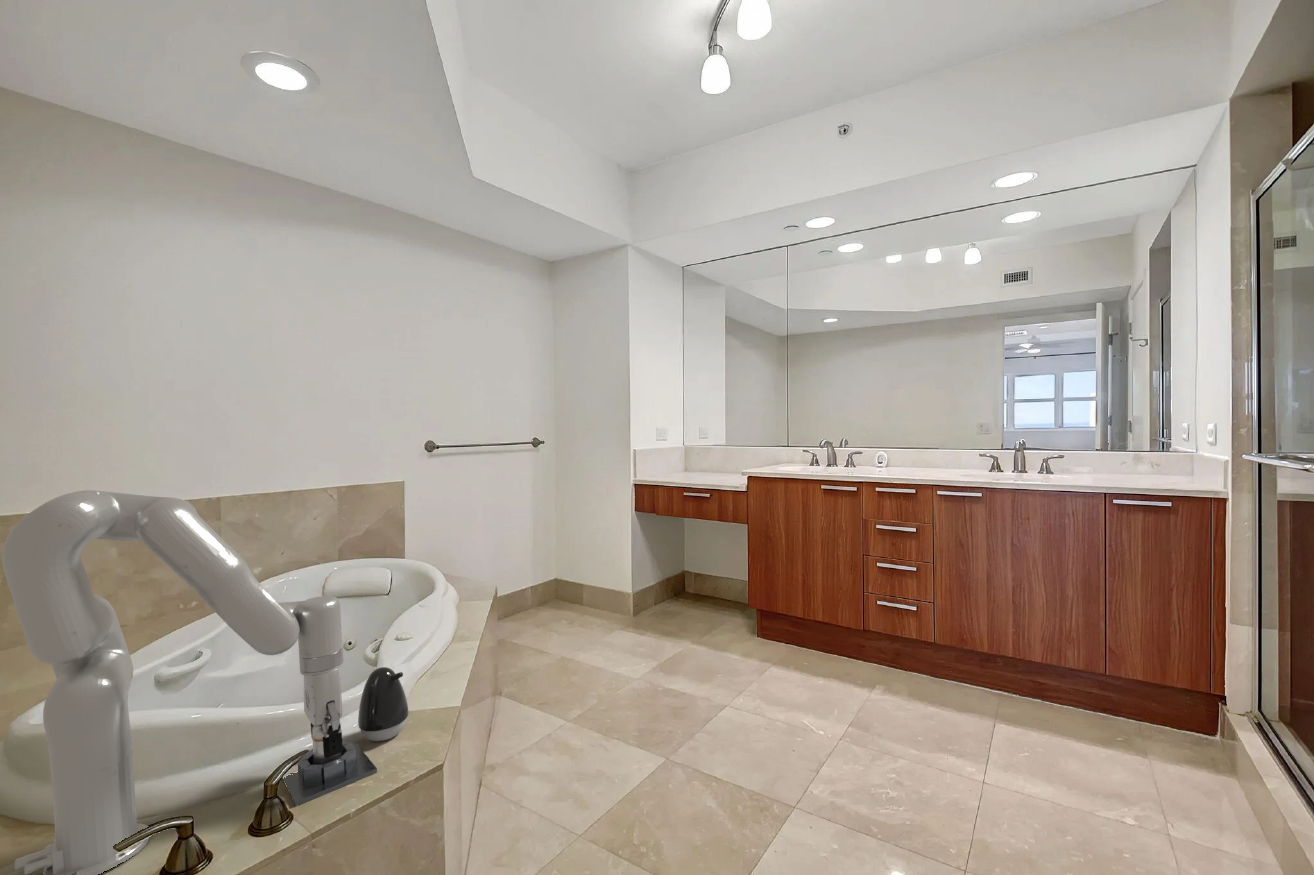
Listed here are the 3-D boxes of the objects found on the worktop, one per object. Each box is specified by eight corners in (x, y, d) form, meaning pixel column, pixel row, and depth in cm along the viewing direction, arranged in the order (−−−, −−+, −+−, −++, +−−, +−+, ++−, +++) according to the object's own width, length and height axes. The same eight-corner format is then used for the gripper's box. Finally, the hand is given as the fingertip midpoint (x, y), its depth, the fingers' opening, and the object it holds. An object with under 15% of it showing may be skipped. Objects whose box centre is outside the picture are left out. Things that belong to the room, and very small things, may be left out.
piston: (317, 780, 111) (315, 734, 111) (310, 770, 115) (308, 725, 115) (345, 769, 115) (343, 724, 114) (338, 759, 118) (336, 716, 118)
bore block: (295, 806, 105) (294, 785, 105) (280, 775, 115) (279, 756, 115) (377, 772, 114) (375, 753, 114) (356, 746, 125) (355, 728, 125)
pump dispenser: (390, 749, 123) (386, 678, 122) (348, 746, 125) (344, 676, 125) (419, 724, 133) (416, 659, 132) (380, 722, 135) (376, 658, 134)
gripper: (290, 655, 118) (295, 737, 118) (310, 679, 105) (316, 770, 106) (331, 644, 123) (336, 723, 123) (355, 666, 111) (360, 753, 111)
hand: (326, 745), depth 115 cm, fingers open, 9 cm apart
